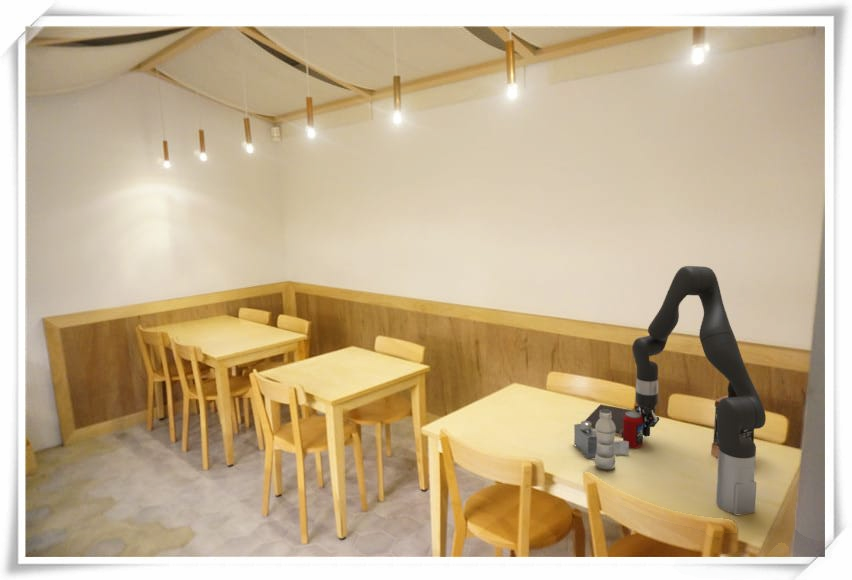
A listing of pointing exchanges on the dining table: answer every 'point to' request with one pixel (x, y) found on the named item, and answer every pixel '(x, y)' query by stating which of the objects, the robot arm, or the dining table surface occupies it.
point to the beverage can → (633, 429)
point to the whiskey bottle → (715, 444)
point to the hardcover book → (616, 418)
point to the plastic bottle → (605, 441)
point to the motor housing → (594, 441)
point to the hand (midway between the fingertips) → (646, 435)
